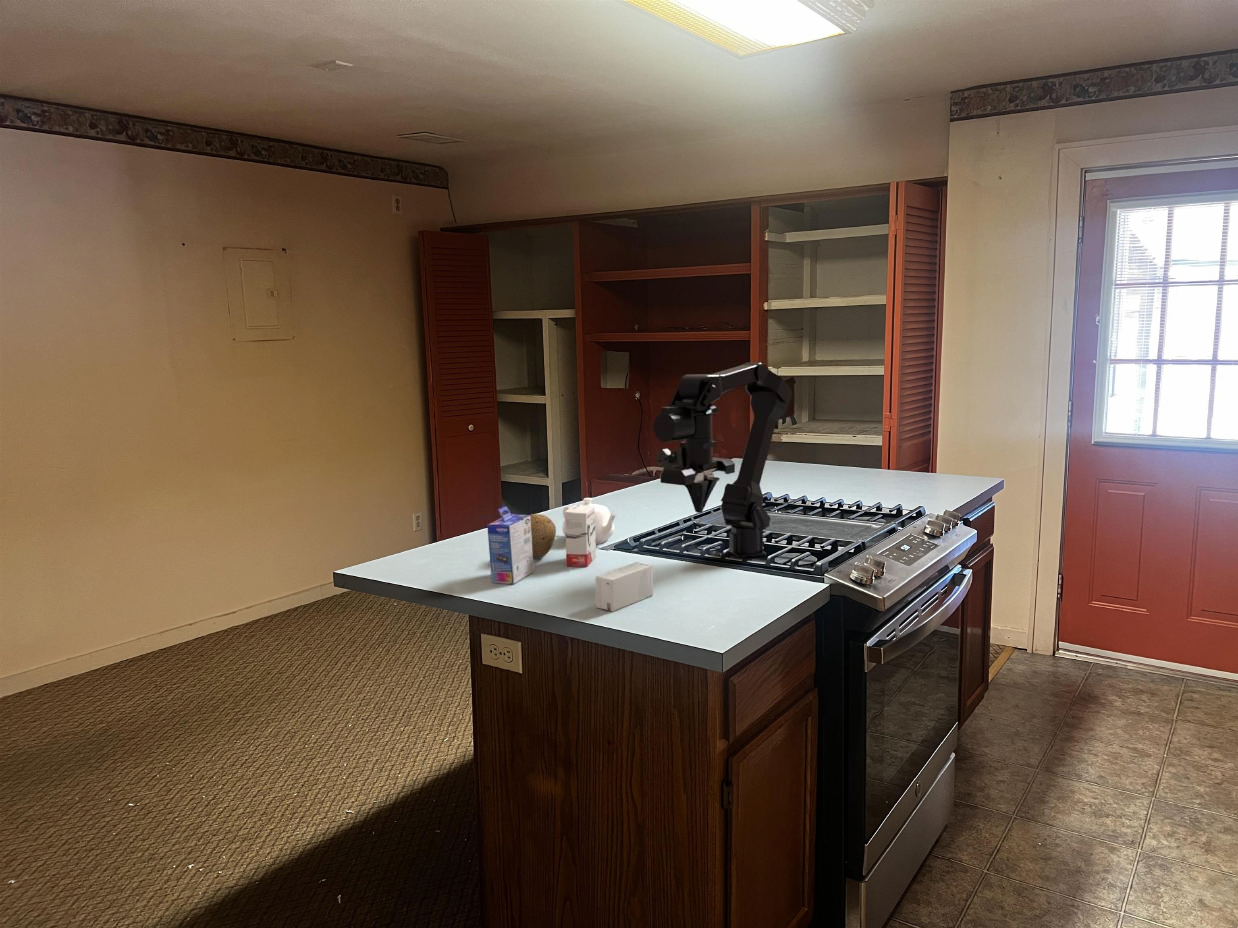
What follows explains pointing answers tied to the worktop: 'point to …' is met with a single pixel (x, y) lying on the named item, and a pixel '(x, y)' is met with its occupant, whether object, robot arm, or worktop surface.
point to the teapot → (599, 521)
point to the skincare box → (624, 586)
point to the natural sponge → (542, 534)
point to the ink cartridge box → (510, 547)
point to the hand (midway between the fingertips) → (698, 512)
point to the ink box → (580, 535)
